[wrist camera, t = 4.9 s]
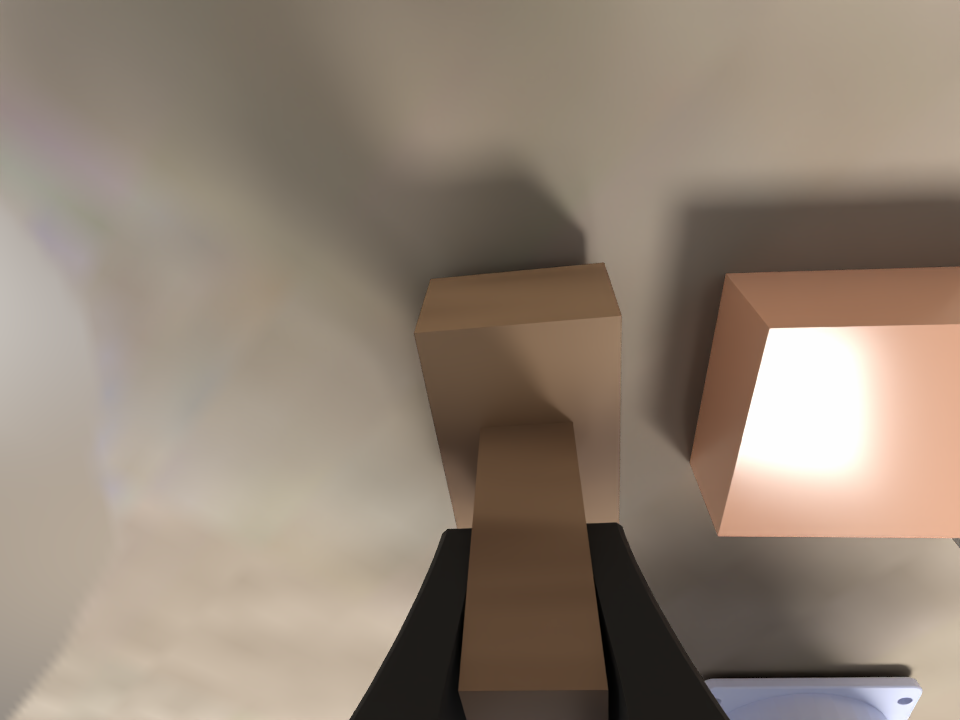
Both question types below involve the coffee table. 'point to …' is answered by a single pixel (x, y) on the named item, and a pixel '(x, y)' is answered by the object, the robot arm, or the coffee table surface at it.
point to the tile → (833, 405)
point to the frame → (957, 541)
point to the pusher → (528, 476)
